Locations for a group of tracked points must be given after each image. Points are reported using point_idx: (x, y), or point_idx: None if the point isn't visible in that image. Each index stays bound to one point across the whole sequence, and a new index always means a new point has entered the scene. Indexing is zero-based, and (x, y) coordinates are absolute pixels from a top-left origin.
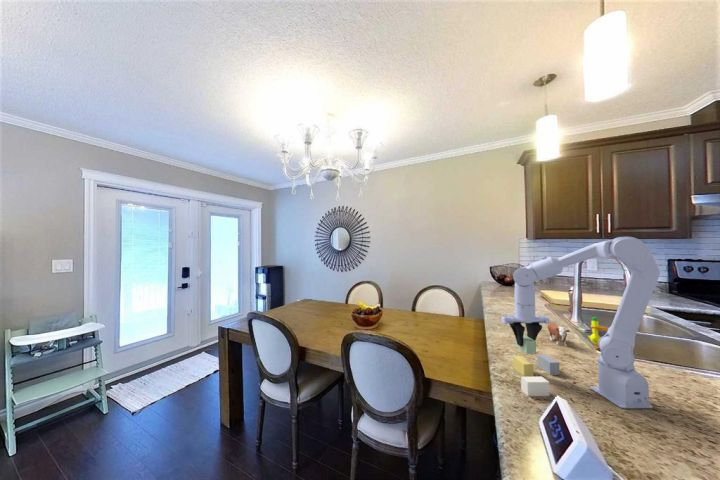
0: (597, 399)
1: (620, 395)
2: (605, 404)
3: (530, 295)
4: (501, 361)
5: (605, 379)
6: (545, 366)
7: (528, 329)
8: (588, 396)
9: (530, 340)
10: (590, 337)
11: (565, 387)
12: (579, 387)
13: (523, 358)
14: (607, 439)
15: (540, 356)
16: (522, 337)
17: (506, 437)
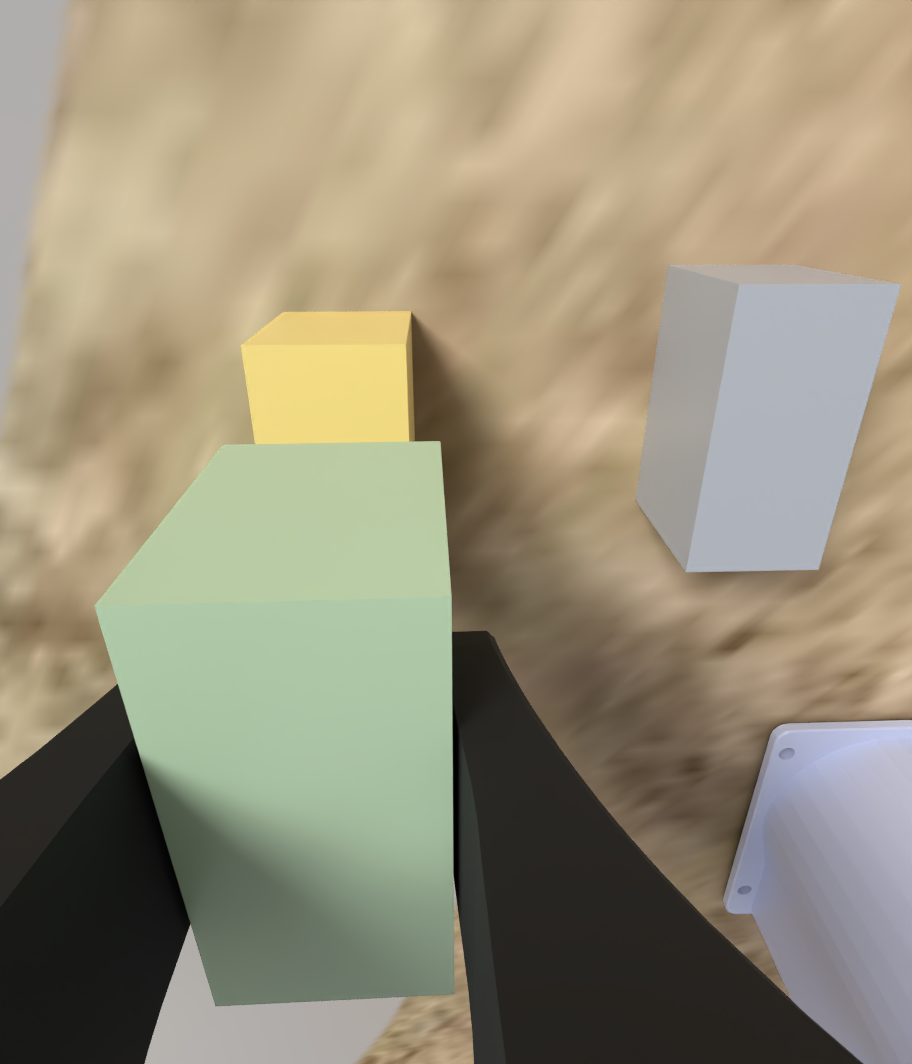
0: (676, 828)
1: (783, 951)
2: (671, 867)
3: None
4: (178, 80)
5: (832, 957)
6: (666, 446)
7: (494, 1053)
8: (648, 802)
9: (349, 967)
10: None
11: (581, 708)
12: (703, 706)
13: (381, 441)
14: (401, 1047)
15: (725, 368)
16: (137, 1011)
17: None
